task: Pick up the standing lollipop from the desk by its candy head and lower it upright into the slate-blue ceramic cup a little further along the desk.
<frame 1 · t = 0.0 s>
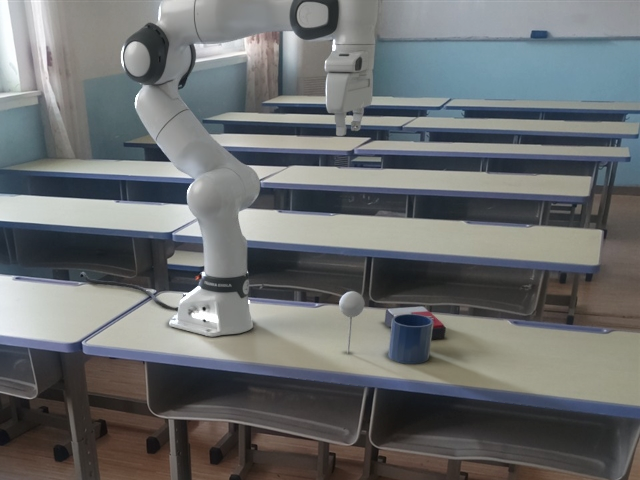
hand: (348, 133, 176), 48 cm above the table, tool pointing down, fingers open, 8 cm apart
cup: (408, 356, 194), on the table
lollipop: (348, 353, 196), on the table
calculator: (413, 331, 210), on the table
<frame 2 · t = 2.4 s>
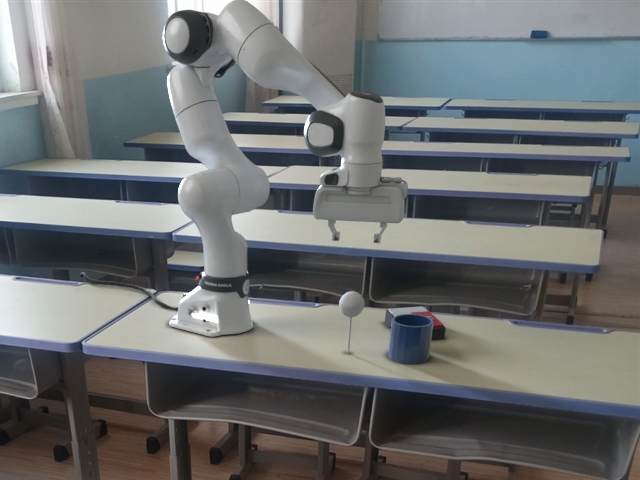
hand: (356, 241, 182), 26 cm above the table, tool pointing down, fingers open, 8 cm apart
nothing on the table moved.
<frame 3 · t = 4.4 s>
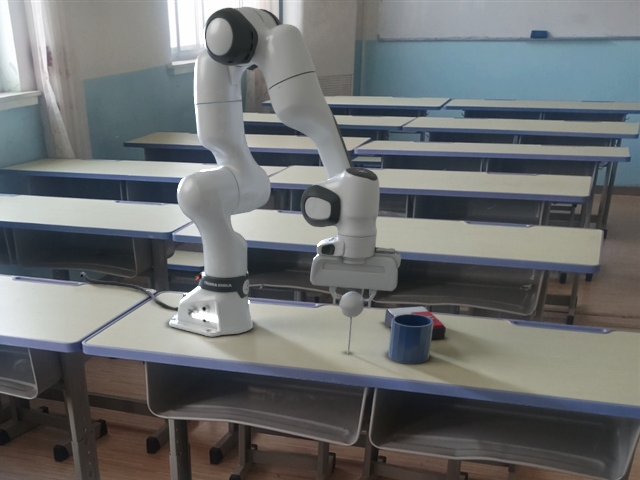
hand: (351, 306, 190), 12 cm above the table, tool pointing down, fingers closed on lollipop, 6 cm apart
lollipop: (348, 353, 196), on the table, touching gripper
everything else where it was.
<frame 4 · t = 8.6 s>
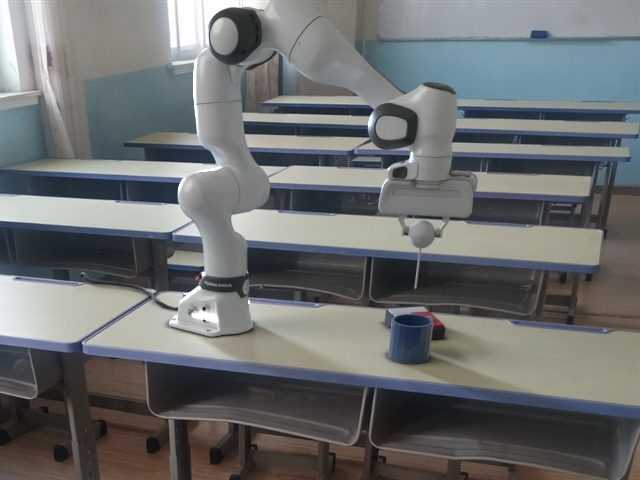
hand: (421, 236, 179), 28 cm above the table, tool pointing down, fingers closed on lollipop, 6 cm apart
lollipop: (415, 289, 185), point 16 cm above the table, touching gripper
everything else where it was.
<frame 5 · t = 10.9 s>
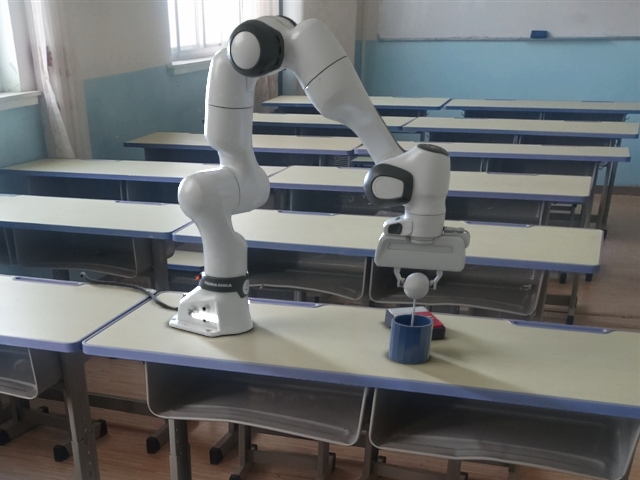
hand: (416, 287, 185), 17 cm above the table, tool pointing down, fingers closed on lollipop, 6 cm apart
lollipop: (410, 337, 191), point 5 cm above the table, touching gripper
everything else where it was.
when the fingers open (12 cm above the table, at t = 12.6 s): lollipop stays where it is, resting on cup.
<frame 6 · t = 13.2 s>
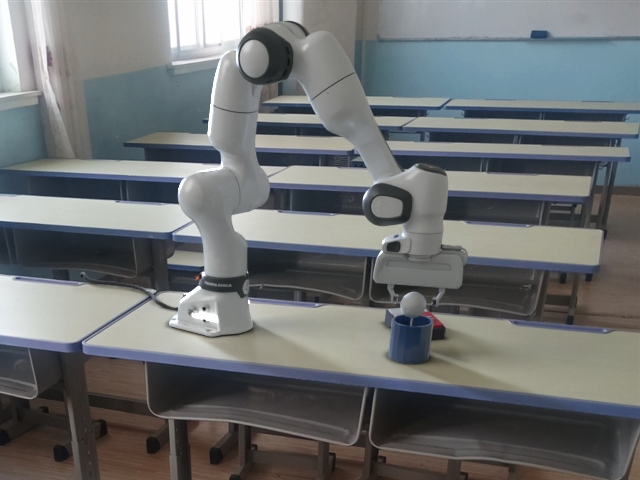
hand: (414, 304, 187), 13 cm above the table, tool pointing down, fingers open, 8 cm apart
lollipop: (408, 355, 194), resting on cup
everything else where it was.
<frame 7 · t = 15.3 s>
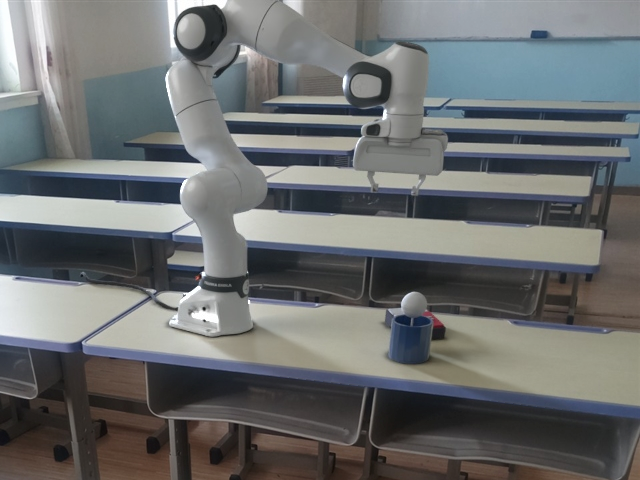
hand: (394, 193, 185), 35 cm above the table, tool pointing down, fingers open, 8 cm apart
nothing on the table moved.
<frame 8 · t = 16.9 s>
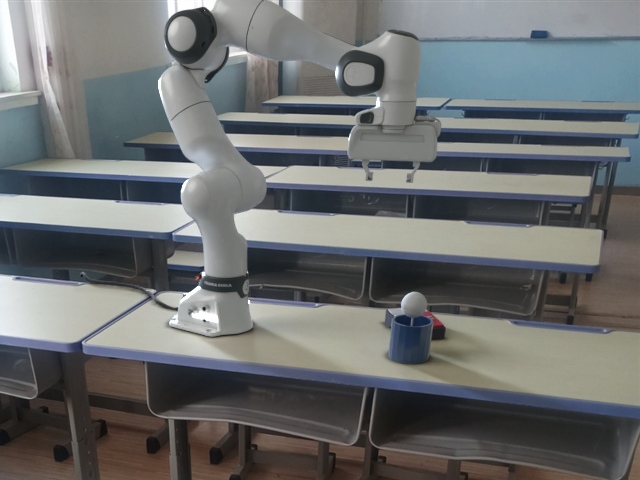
hand: (389, 181, 187), 37 cm above the table, tool pointing down, fingers open, 8 cm apart
nothing on the table moved.
at the end: lollipop 0.1 cm off-centre in the cup, point 0.4 cm above the cup's base; lollipop tilted 0° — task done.
